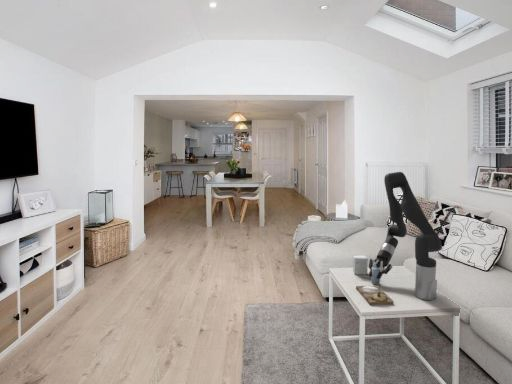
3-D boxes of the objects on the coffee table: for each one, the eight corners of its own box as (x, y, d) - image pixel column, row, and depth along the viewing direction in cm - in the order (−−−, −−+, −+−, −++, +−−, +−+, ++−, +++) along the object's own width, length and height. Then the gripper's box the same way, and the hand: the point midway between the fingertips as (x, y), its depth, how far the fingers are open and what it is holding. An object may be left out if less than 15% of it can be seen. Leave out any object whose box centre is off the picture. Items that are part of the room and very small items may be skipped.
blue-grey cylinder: (381, 283, 190) (381, 268, 189) (376, 285, 187) (377, 270, 186) (374, 281, 193) (374, 266, 192) (370, 283, 191) (370, 268, 190)
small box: (365, 271, 210) (365, 255, 209) (367, 274, 205) (368, 258, 204) (352, 271, 211) (352, 255, 210) (354, 274, 206) (354, 258, 204)
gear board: (393, 304, 164) (393, 295, 163) (369, 304, 163) (370, 295, 163) (377, 288, 184) (377, 280, 183) (356, 288, 183) (356, 280, 183)
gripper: (372, 246, 198) (360, 270, 192) (395, 252, 187) (382, 277, 181) (377, 253, 202) (365, 277, 196) (399, 259, 191) (387, 284, 185)
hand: (374, 277), depth 189 cm, fingers closed on blue-grey cylinder, 4 cm apart
